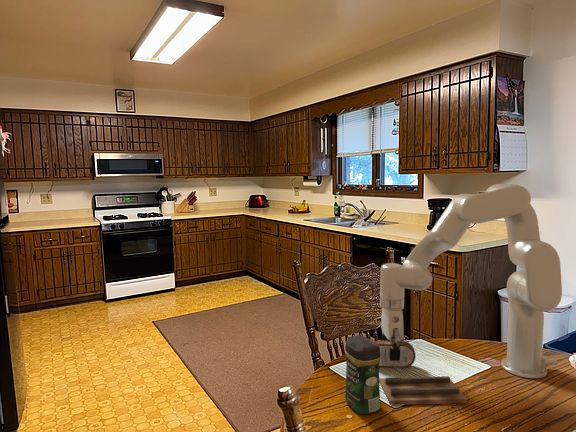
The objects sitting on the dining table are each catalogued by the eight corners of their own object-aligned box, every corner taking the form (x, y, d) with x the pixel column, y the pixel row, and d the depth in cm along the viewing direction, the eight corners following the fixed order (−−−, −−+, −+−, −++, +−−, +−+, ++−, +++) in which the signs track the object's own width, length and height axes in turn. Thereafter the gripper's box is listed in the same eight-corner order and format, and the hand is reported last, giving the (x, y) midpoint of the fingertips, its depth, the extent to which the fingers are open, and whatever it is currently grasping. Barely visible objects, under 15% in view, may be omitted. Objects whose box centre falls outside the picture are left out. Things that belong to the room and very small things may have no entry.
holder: (448, 380, 120) (448, 372, 120) (466, 403, 108) (466, 393, 108) (379, 382, 120) (379, 373, 120) (389, 404, 108) (389, 395, 108)
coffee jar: (340, 399, 111) (340, 335, 109) (364, 393, 114) (365, 330, 112) (359, 419, 102) (359, 349, 100) (385, 411, 105) (385, 343, 103)
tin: (414, 364, 131) (414, 340, 130) (416, 369, 128) (416, 344, 127) (367, 363, 132) (367, 339, 132) (368, 368, 129) (368, 342, 128)
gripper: (412, 311, 119) (410, 365, 121) (395, 294, 137) (394, 342, 138) (387, 311, 119) (385, 366, 121) (374, 294, 137) (373, 342, 138)
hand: (390, 353), depth 130 cm, fingers open, 9 cm apart
